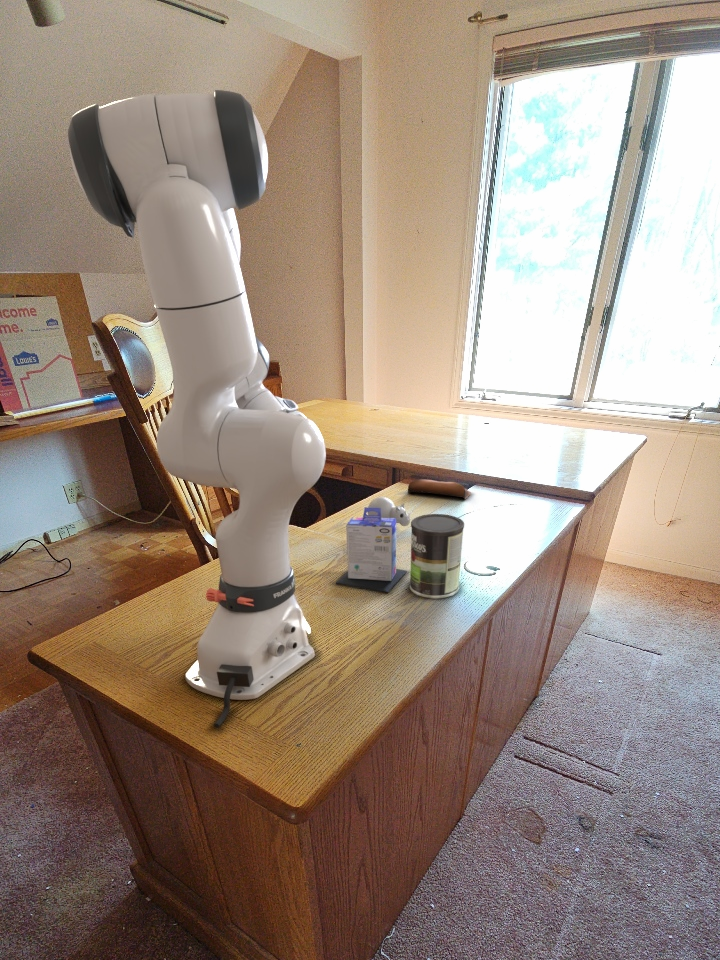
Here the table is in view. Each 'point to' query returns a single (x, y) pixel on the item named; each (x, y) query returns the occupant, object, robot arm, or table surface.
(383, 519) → the ink cartridge box
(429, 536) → the coffee can
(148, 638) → the table surface
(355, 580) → the coaster
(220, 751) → the table surface
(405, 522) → the chubby cartoon animal
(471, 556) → the table surface
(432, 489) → the sunglasses case
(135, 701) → the table surface
